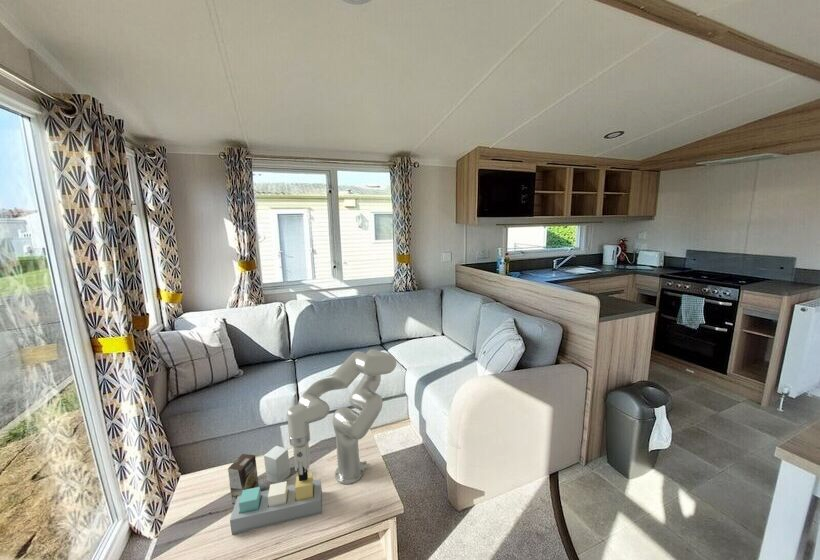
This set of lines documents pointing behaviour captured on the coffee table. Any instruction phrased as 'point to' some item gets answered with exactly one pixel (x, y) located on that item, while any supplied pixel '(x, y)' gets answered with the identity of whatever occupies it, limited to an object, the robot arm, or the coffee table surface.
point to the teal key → (250, 500)
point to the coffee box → (242, 475)
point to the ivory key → (278, 494)
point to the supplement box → (277, 464)
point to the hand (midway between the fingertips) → (303, 478)
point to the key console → (277, 510)
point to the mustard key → (304, 488)
